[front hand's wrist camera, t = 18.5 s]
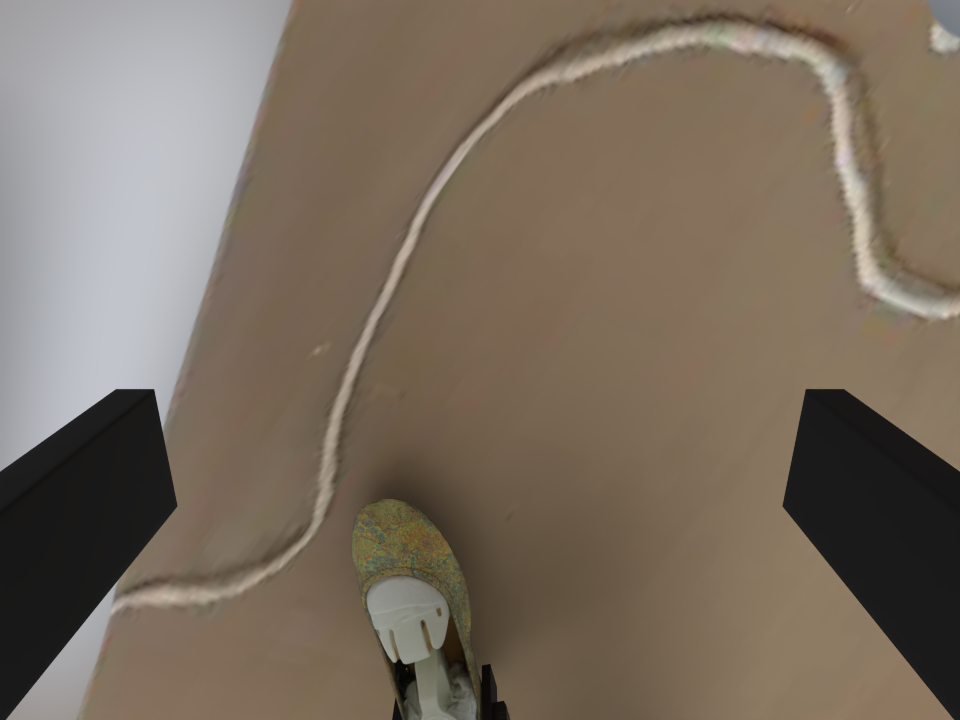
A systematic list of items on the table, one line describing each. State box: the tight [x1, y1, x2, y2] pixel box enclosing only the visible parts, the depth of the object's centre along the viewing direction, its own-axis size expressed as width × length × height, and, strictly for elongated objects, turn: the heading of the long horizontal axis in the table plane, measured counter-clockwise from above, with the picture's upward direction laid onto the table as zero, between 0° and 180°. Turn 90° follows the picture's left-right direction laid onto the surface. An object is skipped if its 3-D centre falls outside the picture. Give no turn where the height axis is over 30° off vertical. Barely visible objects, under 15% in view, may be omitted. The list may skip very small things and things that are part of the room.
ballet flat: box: [352, 499, 482, 720], centre depth 49 cm, size 8×24×8 cm, turn 12°
